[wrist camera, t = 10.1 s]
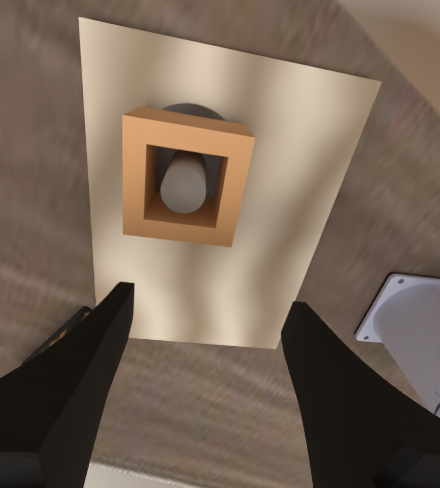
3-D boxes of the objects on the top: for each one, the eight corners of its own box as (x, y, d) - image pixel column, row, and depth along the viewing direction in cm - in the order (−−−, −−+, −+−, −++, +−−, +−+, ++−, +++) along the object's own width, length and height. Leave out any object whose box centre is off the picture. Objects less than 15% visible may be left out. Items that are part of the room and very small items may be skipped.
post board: (368, 81, 17) (458, 83, 11) (272, 336, 28) (291, 408, 22) (89, 22, 15) (11, -16, 9) (103, 322, 26) (72, 397, 20)
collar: (244, 124, 16) (255, 137, 12) (226, 215, 18) (231, 247, 15) (141, 106, 15) (122, 114, 12) (138, 204, 18) (122, 234, 14)
